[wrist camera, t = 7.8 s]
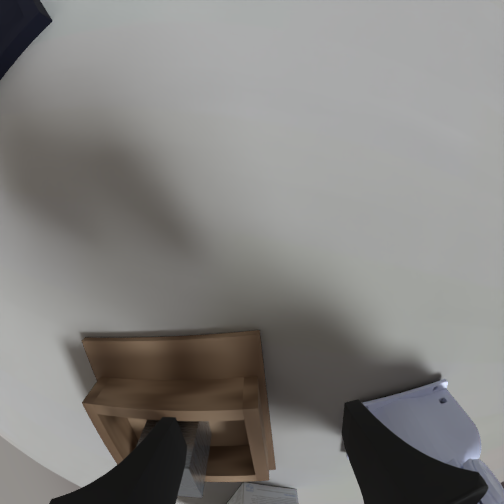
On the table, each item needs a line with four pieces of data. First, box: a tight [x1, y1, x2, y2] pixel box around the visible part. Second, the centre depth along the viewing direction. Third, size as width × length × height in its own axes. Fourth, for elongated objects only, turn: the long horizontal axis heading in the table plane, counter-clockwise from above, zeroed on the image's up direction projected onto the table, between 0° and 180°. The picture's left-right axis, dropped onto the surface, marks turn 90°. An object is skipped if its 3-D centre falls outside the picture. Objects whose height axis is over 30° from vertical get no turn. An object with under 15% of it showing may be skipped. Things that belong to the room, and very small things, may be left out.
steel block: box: [136, 419, 212, 498], centre depth 18 cm, size 4×4×7 cm
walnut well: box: [82, 330, 276, 482], centre depth 20 cm, size 14×16×4 cm
